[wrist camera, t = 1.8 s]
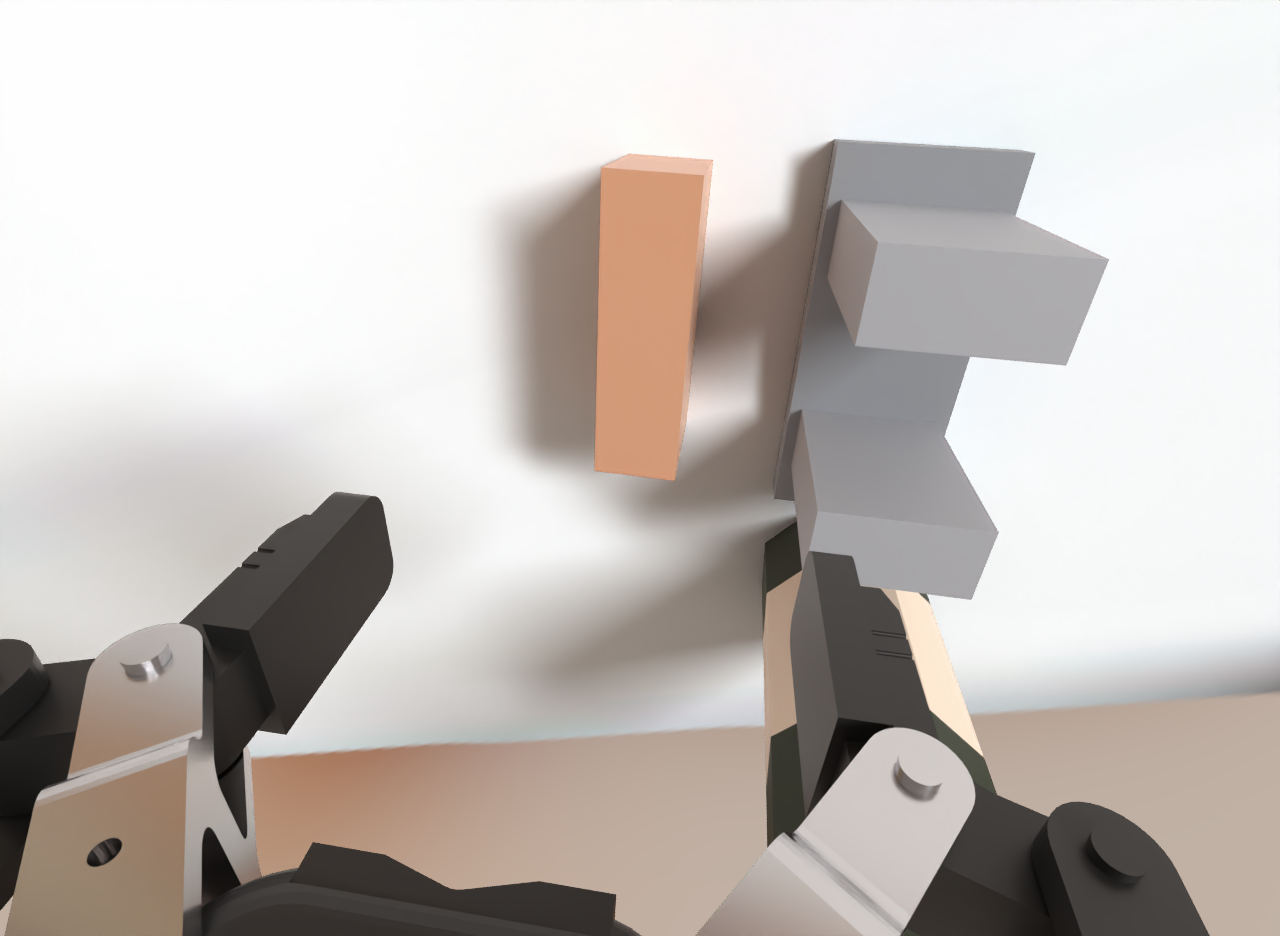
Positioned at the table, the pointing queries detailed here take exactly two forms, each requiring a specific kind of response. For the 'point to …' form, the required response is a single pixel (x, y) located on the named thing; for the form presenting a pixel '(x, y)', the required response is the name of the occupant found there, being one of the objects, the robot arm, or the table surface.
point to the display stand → (915, 352)
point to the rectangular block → (648, 309)
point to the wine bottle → (779, 691)
